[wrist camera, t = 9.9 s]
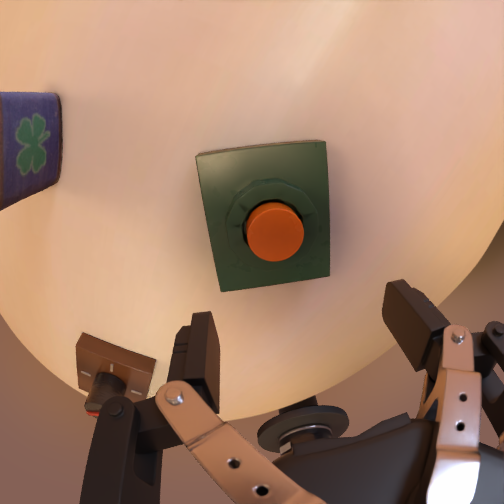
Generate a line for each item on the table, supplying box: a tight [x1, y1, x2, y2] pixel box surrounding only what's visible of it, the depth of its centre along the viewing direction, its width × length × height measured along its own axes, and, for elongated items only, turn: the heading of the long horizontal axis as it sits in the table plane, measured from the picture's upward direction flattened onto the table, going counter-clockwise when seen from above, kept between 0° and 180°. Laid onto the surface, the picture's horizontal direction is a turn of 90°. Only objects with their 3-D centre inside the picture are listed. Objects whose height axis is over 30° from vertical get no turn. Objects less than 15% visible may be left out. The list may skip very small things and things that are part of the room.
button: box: [246, 202, 304, 261], centre depth 20 cm, size 4×4×2 cm
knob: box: [85, 373, 126, 419], centre depth 27 cm, size 4×4×5 cm
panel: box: [76, 333, 156, 403], centre depth 31 cm, size 10×10×3 cm
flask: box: [0, 92, 62, 211], centre depth 14 cm, size 9×3×11 cm, turn 174°
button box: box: [195, 140, 330, 292], centre depth 22 cm, size 12×10×4 cm
